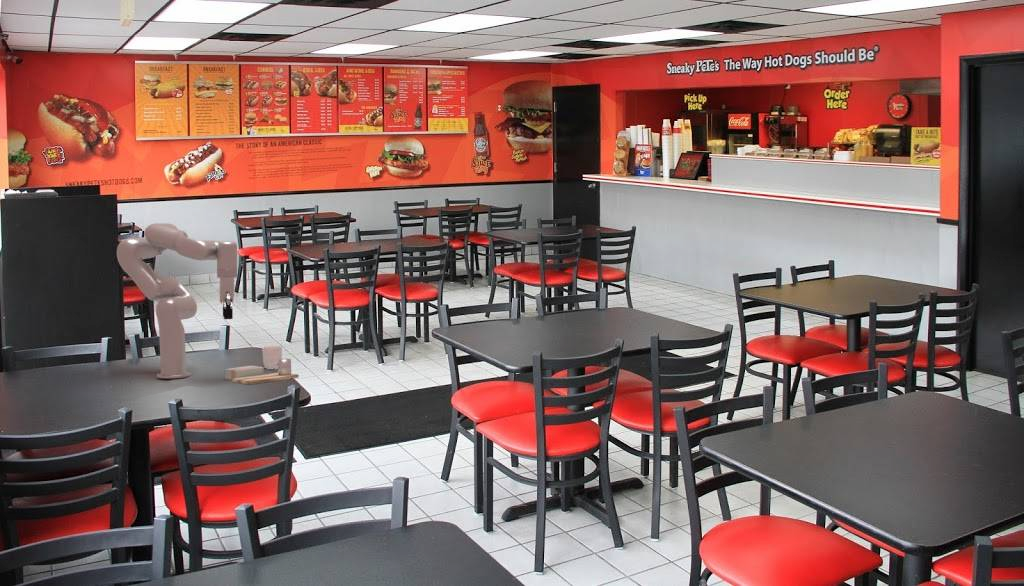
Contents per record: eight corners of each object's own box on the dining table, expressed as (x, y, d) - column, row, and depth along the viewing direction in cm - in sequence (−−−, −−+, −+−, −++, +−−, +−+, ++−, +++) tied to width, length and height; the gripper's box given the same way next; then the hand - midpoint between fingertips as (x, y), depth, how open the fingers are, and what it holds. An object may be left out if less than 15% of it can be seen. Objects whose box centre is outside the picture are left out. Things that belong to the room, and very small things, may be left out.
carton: (224, 379, 381) (224, 369, 381) (251, 375, 390) (251, 365, 390) (237, 381, 376) (237, 370, 375) (263, 377, 385) (263, 367, 384)
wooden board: (232, 381, 373) (231, 378, 373) (280, 375, 389) (280, 372, 389) (250, 384, 365) (250, 381, 365) (298, 377, 381) (298, 374, 381)
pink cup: (264, 370, 404) (263, 346, 404) (283, 369, 405) (283, 345, 405) (261, 372, 397) (260, 348, 396) (281, 372, 397) (280, 347, 397)
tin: (275, 374, 381) (275, 359, 381) (286, 373, 385) (285, 358, 385) (283, 376, 378) (282, 360, 377) (294, 374, 382) (293, 359, 381)
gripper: (216, 272, 383) (216, 316, 384) (217, 274, 367) (218, 320, 368) (236, 272, 385) (236, 315, 386) (238, 274, 369) (238, 319, 370)
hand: (227, 317), depth 377 cm, fingers open, 9 cm apart
